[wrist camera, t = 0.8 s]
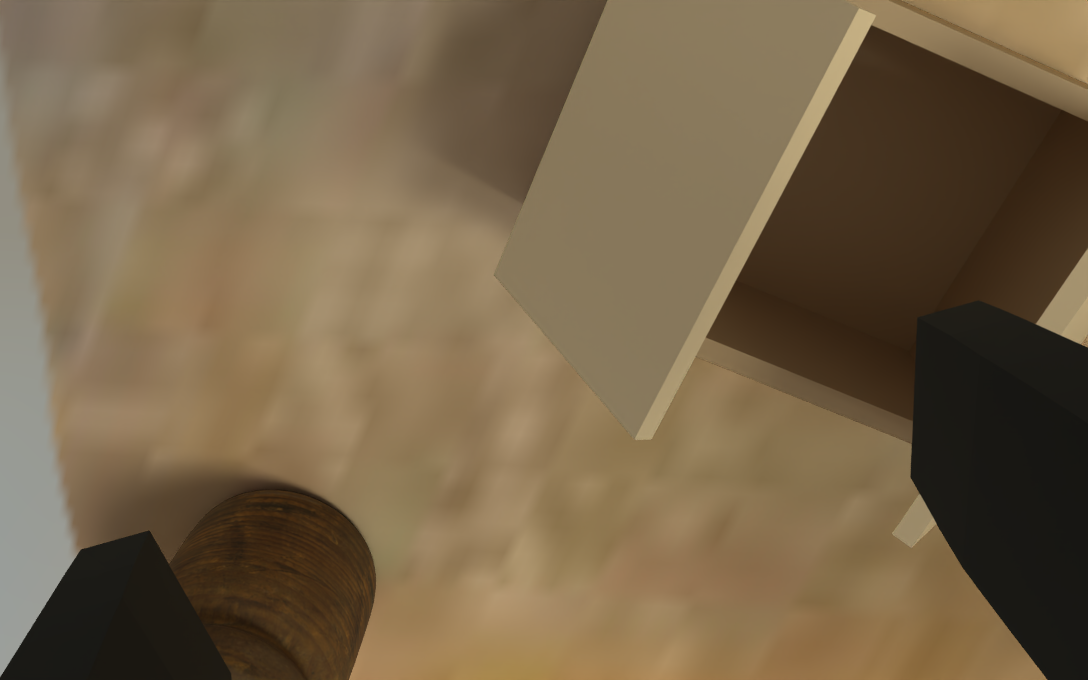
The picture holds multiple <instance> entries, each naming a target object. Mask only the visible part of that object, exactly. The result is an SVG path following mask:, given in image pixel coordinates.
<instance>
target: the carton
mask: <svg viewBox="0 0 1088 680" xmlns="http://www.w3.org/2000/svg"><path fill="white" fill-rule="evenodd" d="M847 1H849V2H851V3H853V4H855V5H857V6H859V7H861V8H863V9H865V10H867V11H869V12H871V13H873V14H875V15H876V17H875V19H874V21H873V23H872V25H871V26H870V28H869V30H868V32H867V34H866V36H865V38H864V40H863V42H862V43H861V45H860V47H859V49H858V51H857V53H856V55H855V57H854V58H853V60H852V62H851V64H850V66H849V68H848V70H847V72H846V74H845V75H844V77H843V79H842V81H841V83H840V85H839V87H838V89H837V91H836V92H835V94H834V96H833V98H832V100H831V102H830V104H829V106H828V108H827V109H826V111H825V113H824V115H823V117H822V119H821V121H820V123H819V125H818V126H817V128H816V130H815V132H814V134H813V136H812V138H811V140H810V141H809V143H808V145H807V147H806V149H805V151H804V153H803V155H802V157H801V158H800V160H799V162H798V164H797V166H796V168H795V170H794V172H793V174H792V175H791V177H790V179H789V181H788V183H787V185H786V187H785V189H784V191H783V192H782V194H781V196H780V198H779V200H778V202H777V204H776V206H775V208H774V209H773V211H772V213H771V215H770V217H769V219H768V221H767V223H766V225H765V226H764V228H763V230H762V232H761V234H760V236H759V238H758V240H757V241H756V243H755V245H754V247H753V249H752V251H751V253H750V255H749V257H748V258H747V260H746V262H745V264H744V266H743V268H742V270H741V272H740V274H739V275H738V277H737V279H736V281H735V283H734V285H733V287H732V289H731V291H730V292H729V294H728V296H727V298H726V300H725V302H724V304H723V306H722V308H721V309H720V311H719V313H718V315H717V317H716V319H715V321H714V323H713V324H712V326H711V328H710V330H709V332H708V334H707V336H706V338H705V340H704V341H703V343H702V345H701V347H700V349H699V351H698V353H697V355H696V357H697V358H700V359H702V360H705V361H707V362H710V363H712V364H715V365H717V366H720V367H722V368H725V369H727V370H730V371H732V372H735V373H737V374H740V375H742V376H745V377H747V378H750V379H752V380H755V381H757V382H760V383H762V384H765V385H767V386H769V387H772V388H774V389H777V390H779V391H782V392H784V393H787V394H789V395H792V396H794V397H797V398H799V399H802V400H804V401H807V402H809V403H812V404H814V405H817V406H819V407H822V408H824V409H827V410H829V411H832V412H834V413H837V414H839V415H841V416H844V417H846V418H849V419H851V420H854V421H856V422H859V423H861V424H864V425H866V426H869V427H871V428H874V429H876V430H879V431H881V432H884V433H886V434H889V435H891V436H894V437H896V438H899V439H901V440H904V441H906V442H909V443H911V444H912V430H913V406H914V382H915V358H916V334H917V317H920V316H924V315H927V314H931V313H935V312H938V311H942V310H945V309H949V308H953V307H956V306H960V305H963V304H967V303H971V302H974V301H978V300H979V301H982V302H984V303H987V304H990V305H992V306H995V307H997V308H1000V309H1002V310H1004V311H1007V312H1009V313H1011V314H1014V315H1016V316H1018V317H1021V318H1023V319H1025V320H1028V321H1030V322H1032V323H1034V324H1036V323H1037V322H1038V320H1039V319H1040V317H1041V316H1042V314H1043V313H1044V311H1045V310H1046V309H1047V307H1048V306H1049V304H1050V303H1051V301H1052V300H1053V298H1054V297H1055V295H1056V294H1057V292H1058V291H1059V290H1060V288H1061V287H1062V285H1063V284H1064V282H1065V281H1066V279H1067V278H1068V276H1069V275H1070V274H1071V272H1072V271H1073V269H1074V268H1075V266H1076V265H1077V263H1078V262H1079V260H1080V259H1081V258H1082V256H1083V255H1084V253H1085V252H1086V250H1087V249H1088V85H1087V84H1085V83H1083V82H1081V81H1078V80H1076V79H1074V78H1072V77H1070V76H1067V75H1065V74H1063V73H1061V72H1058V71H1056V70H1054V69H1052V68H1050V67H1047V66H1045V65H1043V64H1041V63H1038V62H1036V61H1034V60H1032V59H1030V58H1027V57H1025V56H1023V55H1021V54H1018V53H1016V52H1014V51H1012V50H1010V49H1007V48H1005V47H1003V46H1001V45H998V44H996V43H994V42H992V41H990V40H987V39H985V38H983V37H981V36H978V35H976V34H974V33H972V32H969V31H967V30H965V29H963V28H961V27H958V26H956V25H954V24H952V23H949V22H947V21H945V20H943V19H941V18H938V17H936V16H934V15H932V14H929V13H927V12H925V11H923V10H921V9H918V8H916V7H914V6H912V5H909V4H907V3H905V2H903V1H901V0H847Z"/></svg>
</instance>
